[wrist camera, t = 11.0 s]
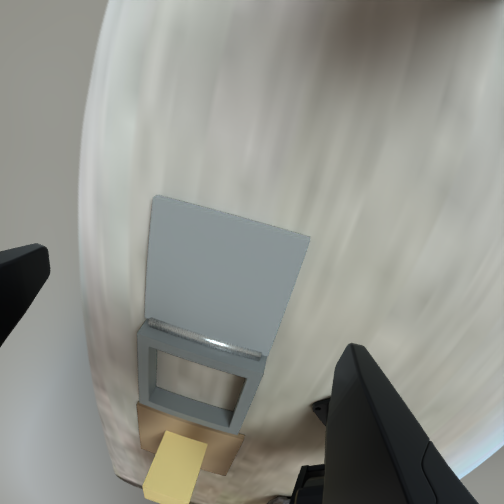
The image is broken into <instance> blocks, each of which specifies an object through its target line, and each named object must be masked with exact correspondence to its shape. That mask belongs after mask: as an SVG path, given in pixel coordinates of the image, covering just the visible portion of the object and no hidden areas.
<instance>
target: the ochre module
mask: <svg viewBox="0 0 504 504" xmlns="http://www.w3.org/2000/svg"><path fill="white" fill-rule="evenodd" d="M207 445H208V444H206V443H203V442H199V441H196V440H193V439H190V438H187V437H184V436H181V435H178V434H175V433H172V432H169V431H166V432H165V434H164V436H163V439H162V441H161V443H160V446H159V448H158V450H157V453H156V455H155V458H154V460H153V462H152V465H151V467H150V469H149V472H148V474H147V477H146V479H145V481H144V484H143V486H142V487H143V492H144V496H145V498H146V499H149V500H152V501H155V502H157V503H160V504H189V502H190V499H191V496H192V493H193V490H194V487H195V484H196V481H197V477H198V474H199V471H200V468H201V465H202V462H203V459H204V455H205V452H206V448H207Z"/></svg>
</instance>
